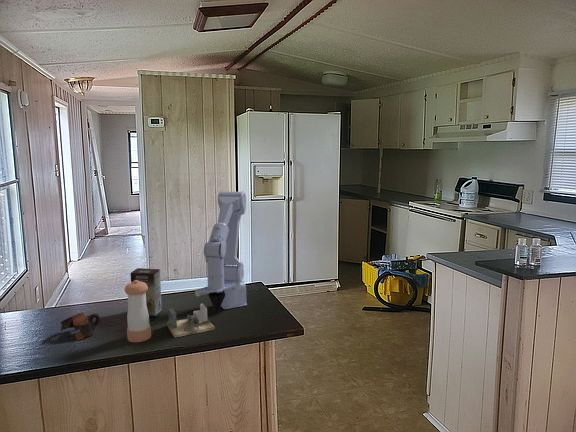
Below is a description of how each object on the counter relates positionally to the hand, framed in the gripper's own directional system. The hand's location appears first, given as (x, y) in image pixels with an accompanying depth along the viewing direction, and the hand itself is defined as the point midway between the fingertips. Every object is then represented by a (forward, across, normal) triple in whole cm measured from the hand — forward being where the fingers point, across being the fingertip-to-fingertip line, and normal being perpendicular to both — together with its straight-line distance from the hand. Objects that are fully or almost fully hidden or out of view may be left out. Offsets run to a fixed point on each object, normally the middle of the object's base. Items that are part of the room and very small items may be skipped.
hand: (216, 312), depth 154 cm
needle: (+1, -9, -5) cm, 10 cm away
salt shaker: (+3, -27, -2) cm, 27 cm away
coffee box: (+3, -21, +19) cm, 28 cm away
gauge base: (+3, -10, -2) cm, 11 cm away
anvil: (+3, -16, 0) cm, 16 cm away
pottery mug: (+3, -43, +10) cm, 44 cm away
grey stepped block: (+1, -7, -1) cm, 7 cm away
